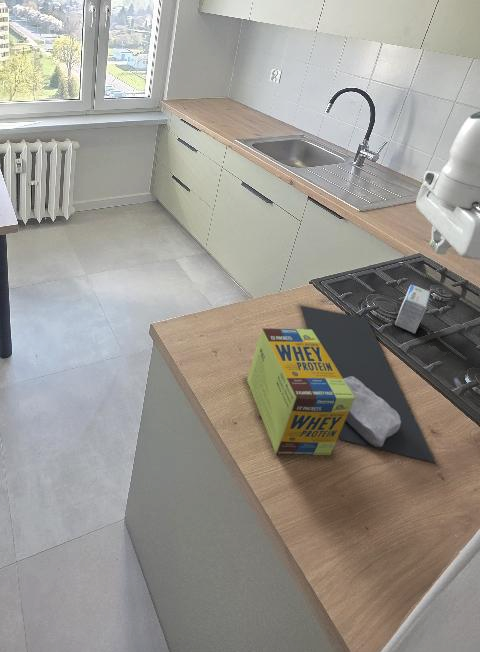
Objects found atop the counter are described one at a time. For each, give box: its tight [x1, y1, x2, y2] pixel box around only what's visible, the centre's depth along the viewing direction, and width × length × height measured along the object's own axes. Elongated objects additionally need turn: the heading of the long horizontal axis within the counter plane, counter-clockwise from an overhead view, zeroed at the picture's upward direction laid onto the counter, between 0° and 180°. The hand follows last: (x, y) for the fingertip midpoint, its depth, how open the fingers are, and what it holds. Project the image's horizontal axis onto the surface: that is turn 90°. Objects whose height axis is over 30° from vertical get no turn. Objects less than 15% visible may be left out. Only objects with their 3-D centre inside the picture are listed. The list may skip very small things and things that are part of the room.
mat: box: [300, 305, 436, 464], centre depth 93 cm, size 16×36×1 cm, turn 166°
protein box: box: [246, 327, 355, 456], centre depth 79 cm, size 10×15×16 cm
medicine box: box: [394, 284, 431, 334], centre depth 106 cm, size 8×4×9 cm, turn 137°
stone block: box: [344, 376, 401, 447], centre depth 83 cm, size 12×5×10 cm
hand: (436, 250), depth 86 cm, fingers closed
